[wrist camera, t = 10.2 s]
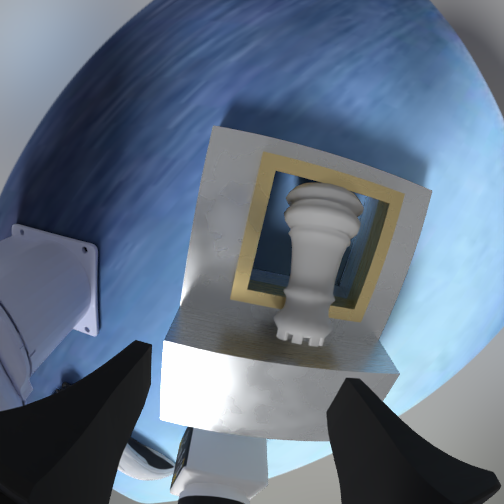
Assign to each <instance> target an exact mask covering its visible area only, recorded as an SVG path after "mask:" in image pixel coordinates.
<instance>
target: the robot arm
mask: <svg viewBox="0 0 504 504" xmlns="http://www.w3.org/2000/svg"><path fill="white" fill-rule="evenodd" d="M23 231H24V233H23ZM84 247H86V248H87V252H86V251H85V248H84ZM97 267H98V249H97V247H96V246H95V245H94V244H92V243H88V242H84V241H80V240H76V239H72V238H68V237H65V236H61V235H57V234H53V233H49V232H46V231H42V230H38V229H35V228H31V227H27V226H24V225H20V224H14V225H13V226H12V236H11V237H9V238H6V239H4V240H2V241H0V504H109V500H110V496H111V491H112V488H113V484H114V480H115V476H116V473H117V469H118V466H119V463H120V459H121V457H122V454H123V451H124V449H125V447H126V445H127V442H128V440H129V438H130V436H131V434H132V431H133V429H134V427H135V425H136V423H137V420H138V418H139V416H140V414H141V412H142V409H143V407H144V404H145V401H146V398H147V395H148V392H149V388H150V385H151V355H152V344H148V343H144V342H141V341H137V340H135V341H134V342H132V343H131V344H130V345H128V346H127V347H126V348H125V349H123V350H122V351H121V352H120V353H118V354H117V355H116V356H114V357H113V358H112V359H110V360H109V361H108V362H106V363H105V364H104V365H102V366H101V367H99V368H98V369H97V370H95V371H94V372H92V373H90V374H89V375H87V376H86V377H84V378H83V379H81V380H79V381H78V382H76V383H74V384H73V385H71V386H69V387H67V388H65V389H63V390H61V391H59V392H57V393H55V394H53V395H51V396H48V397H46V398H43V399H41V400H38V401H35V402H33V403H30V404H27V403H26V401H25V399H26V398H27V397H28V395H29V394H30V393H31V391H32V390H33V388H32V386H31V384H30V380H29V378H30V377H31V375H32V374H33V373H34V372H35V371H36V369H37V368H38V367H39V366H40V365H41V364H42V362H43V361H44V360H45V359H46V358H47V357H48V355H49V354H50V353H51V352H52V351H53V350H54V349H55V348H56V346H57V345H58V344H59V343H60V342H61V341H62V340H63V339H64V338H65V337H66V335H67V334H68V333H69V332H70V331H71V330H72V329H75V330H78V331H81V332H83V333H86V334H89V335H92V336H97V334H98V333H99V323H98V296H97ZM87 327H88V328H89V329H88V328H87ZM326 415H327V427H328V435H329V440H330V444H331V448H332V452H333V456H334V461H335V465H336V469H337V473H338V477H339V483H340V490H341V502H342V504H483V503H484V502H485V501H487V500H488V499H489V498H490V497H492V496H493V495H494V494H495V493H496V492H497V491H498V490H499V489H500V487H501V484H500V482H499V481H498V479H497V477H496V475H495V474H494V473H493V472H491V471H488V470H484V469H481V468H478V467H475V466H472V465H470V464H467V463H465V462H462V461H460V460H458V459H456V458H454V457H452V456H450V455H448V454H447V453H445V452H443V451H441V450H440V449H438V448H436V447H435V446H433V445H432V444H430V443H429V442H427V441H426V440H425V439H423V438H422V437H421V436H420V435H418V434H417V433H416V432H414V431H413V430H412V429H411V428H410V427H409V426H408V425H407V424H405V423H404V422H403V421H402V420H401V419H400V418H399V417H398V416H397V415H396V414H395V413H394V412H393V411H392V410H391V409H390V408H389V407H388V406H387V405H386V404H385V403H384V402H383V401H382V400H381V399H380V398H379V397H378V396H377V395H376V394H375V393H374V392H373V391H372V390H371V389H370V388H369V387H368V386H367V385H366V384H365V383H364V382H363V381H362V380H361V379H360V378H345V380H344V382H343V384H342V385H341V387H340V389H339V391H338V393H337V394H336V396H335V398H334V400H333V401H332V403H331V405H330V407H329V408H328V410H327V412H326Z"/></svg>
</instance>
